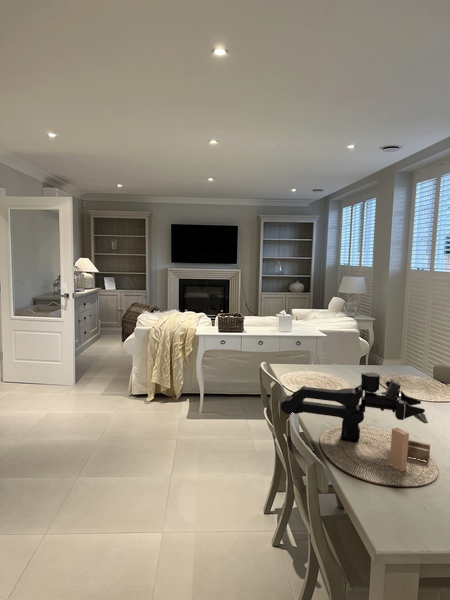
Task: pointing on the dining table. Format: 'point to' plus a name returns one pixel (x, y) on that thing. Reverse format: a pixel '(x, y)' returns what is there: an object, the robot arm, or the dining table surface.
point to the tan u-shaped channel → (418, 450)
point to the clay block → (399, 449)
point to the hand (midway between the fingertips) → (422, 406)
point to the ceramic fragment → (423, 417)
